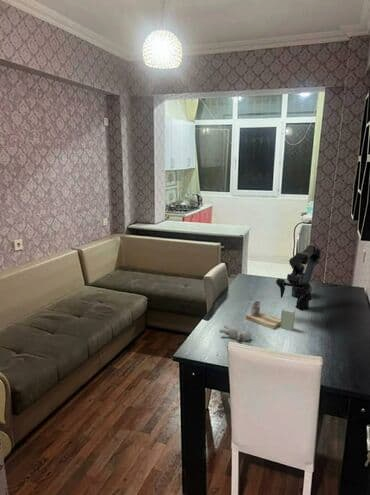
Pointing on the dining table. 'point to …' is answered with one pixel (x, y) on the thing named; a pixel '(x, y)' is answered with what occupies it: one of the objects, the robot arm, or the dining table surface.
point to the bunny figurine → (236, 333)
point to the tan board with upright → (262, 317)
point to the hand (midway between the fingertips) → (289, 299)
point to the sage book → (287, 319)
